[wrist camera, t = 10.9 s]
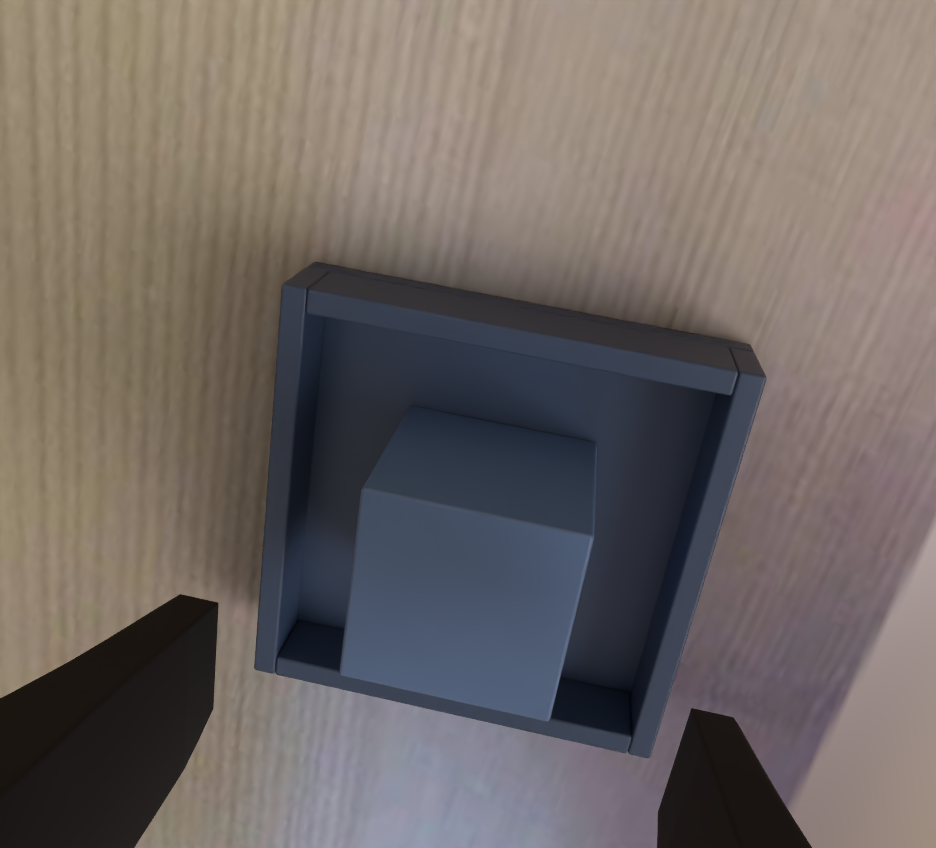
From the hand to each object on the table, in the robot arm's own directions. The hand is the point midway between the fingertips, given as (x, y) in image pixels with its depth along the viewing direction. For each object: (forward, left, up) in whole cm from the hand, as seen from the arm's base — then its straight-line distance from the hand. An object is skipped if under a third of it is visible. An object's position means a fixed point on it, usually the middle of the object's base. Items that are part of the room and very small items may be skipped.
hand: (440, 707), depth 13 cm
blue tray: (0, 0, -7) cm, 7 cm away
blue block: (0, 0, -7) cm, 7 cm away
